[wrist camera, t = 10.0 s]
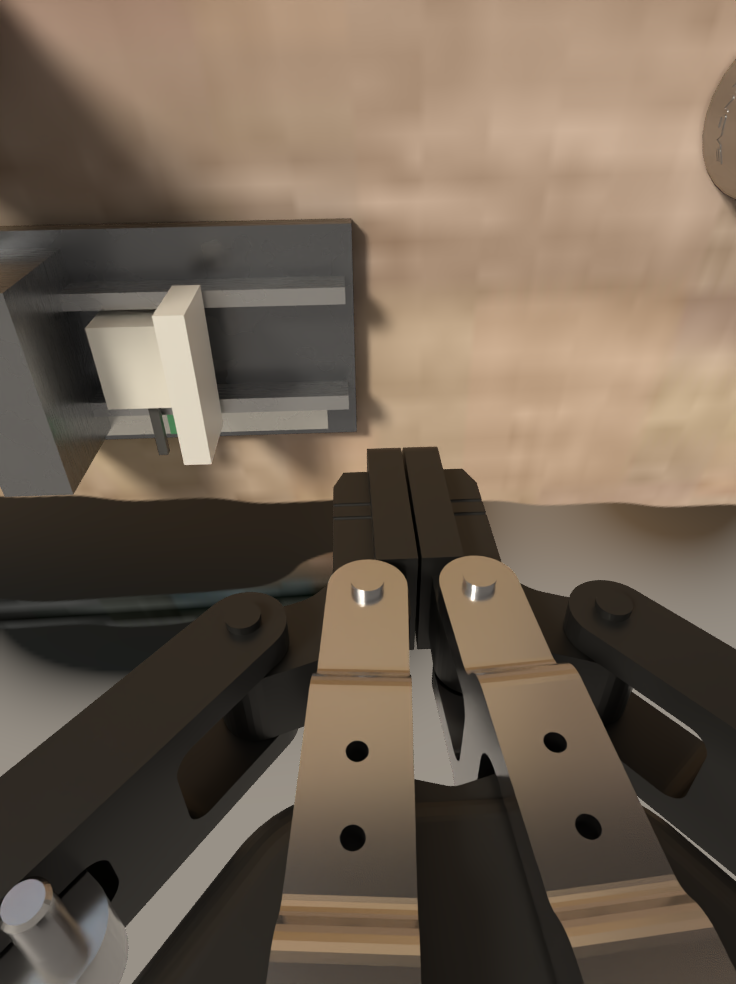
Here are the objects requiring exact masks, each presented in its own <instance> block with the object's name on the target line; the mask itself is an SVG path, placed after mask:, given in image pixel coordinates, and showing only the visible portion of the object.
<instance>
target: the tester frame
mask: <svg viewBox="0 0 736 984" xmlns="http://www.w3.org/2000/svg"><path fill="white" fill-rule="evenodd" d="M177 285H200V287H201V293H202V299H203V305H204V311H205V317H206V323H207V329H208V335H209V341H210V347H211V353H212V359H213V365H214V371H215V377H216V383H217V389H218V395H219V401H220V407H221V413H222V419H223V426H222V430H221V433H220V436H233V435H266V434H298V433H330V432H357V425H356V386H355V346H354V307H353V267H352V228H351V219H307V220H261V221H215V222H170V223H124V224H78V225H33V226H0V487H1V489H2V491H3V494H4V496H5V497H12V496H42V495H72V494H74V492H75V491H76V489H77V487H78V485H79V484H80V482H81V480H82V478H83V477H84V475H85V473H86V471H87V470H88V468H89V466H90V464H91V463H92V461H93V459H94V457H95V456H96V454H97V452H98V450H99V449H100V447H101V445H102V443H103V442H104V440H105V439H136V438H155V436H154V432H153V427H152V423H151V419H150V415H149V411H148V408H145V409H111V410H108V408H107V404H106V401H105V397H104V394H103V390H102V387H101V383H100V380H99V376H98V372H97V369H96V365H95V362H94V358H93V355H92V351H91V348H90V344H89V341H88V337H87V334H86V330H85V328H86V326H87V325H88V324H89V323H90V322H91V321H92V319H93V318H94V317H95V316H96V315H97V313H98V312H99V311H100V310H140V309H157V307H158V306H159V304H160V303H161V301H162V300H163V298H164V297H165V295H166V294H167V292H168V291H169V289H170V288H171V286H177ZM160 409H161V414H162V418H163V422H164V427H165V431H166V436H167V438H168V437H178V434H177V430H176V425H175V420H174V416H173V411H172V408H160Z"/></svg>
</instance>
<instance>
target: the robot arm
mask: <svg viewBox="0 0 736 984" xmlns="http://www.w3.org/2000/svg"><path fill="white" fill-rule="evenodd" d="M702 139H703V157H704V161H705V165H706V169H707V171H708V173H709V175H710V177H711V179H712V180H713V182H714V184H715V185H716V186H717V187H718V188H719V189H720V190H721V191H722V192H723V193H724V194H726V195H728V196H730V197H732V198H734V199H736V60H735V61H734V62H733V64H732V65H731V66H730V68H729V69H728V70H727V72H726V73H725V74H724V76H723V78H722V80H721V81H720V83H719V85H718V87H717V89H716V91H715V93H714V95H713V97H712V100H711V103H710V105H709V108H708V111H707V114H706V118H705V124H704V130H703V135H702ZM333 504H334V507H333V510H334V511H333V573H332V576H331V577H330V579H329V582H328V584H327V585H326V586H325V587H324V588H323V589H322V590H321V591H320V592H319V593H317V594H316V595H314V596H312V597H310V598H308V599H306V600H303V601H301V602H297V603H294V604H291V605H287V606H284V607H283V606H282V604H281V603H280V602H279V601H278V600H276V599H275V598H273V597H271V596H269V595H266V594H263V593H257V592H244V593H238V594H234V595H231V596H228V597H226V598H224V599H222V600H220V601H219V602H217V603H216V604H214V605H213V606H212V607H211V608H209V609H208V610H207V611H206V612H205V613H203V614H202V615H201V616H200V617H198V618H197V619H196V620H195V621H193V622H192V623H191V624H190V625H189V626H187V627H186V628H185V629H184V630H182V631H181V632H180V633H178V634H177V635H176V636H175V637H173V638H172V639H171V640H170V641H169V642H167V643H166V644H165V645H164V646H162V647H161V648H160V649H159V650H157V651H156V652H155V653H154V654H153V655H151V656H150V657H149V658H148V659H146V660H145V661H144V662H142V663H141V664H140V665H139V666H137V667H136V668H135V669H134V670H133V671H131V672H130V673H129V674H128V675H126V676H125V677H124V678H123V679H121V680H120V681H119V682H118V683H116V684H115V685H114V686H113V687H112V688H110V689H109V690H108V691H107V692H105V693H104V694H103V695H101V696H100V697H99V698H98V699H97V700H95V701H94V702H93V703H92V704H90V705H89V706H88V707H87V708H85V709H84V710H83V711H82V712H80V713H79V714H78V715H77V716H75V717H74V718H73V719H72V720H70V721H69V722H68V723H67V724H65V725H64V726H63V727H62V728H61V729H59V730H58V731H57V732H56V733H54V734H53V735H52V736H51V737H49V738H48V739H47V740H46V741H44V742H43V743H42V744H41V745H39V746H38V747H37V748H36V749H34V750H33V751H32V752H31V753H29V754H28V755H27V756H26V757H25V758H23V759H22V760H21V761H20V762H19V763H17V764H16V765H15V766H13V767H12V768H11V769H10V770H8V771H7V772H6V773H5V774H4V775H2V776H1V777H0V984H119V983H120V981H121V978H122V975H123V973H124V970H125V967H126V962H127V958H128V937H127V933H126V929H125V927H126V925H128V923H129V922H130V921H131V920H132V919H133V918H134V917H135V916H136V915H137V913H138V912H139V911H140V910H141V909H142V908H143V907H144V906H145V905H146V903H147V902H148V901H149V900H150V899H151V898H152V897H153V896H154V894H155V893H156V892H157V891H158V890H159V889H160V888H161V886H163V884H164V883H165V882H166V881H167V880H168V879H169V878H170V877H171V875H172V874H173V873H174V872H175V871H176V870H177V869H178V868H179V867H180V865H181V864H182V863H183V862H184V861H185V860H186V859H187V858H188V856H189V855H190V854H191V853H192V852H193V851H194V850H195V849H196V848H197V847H198V845H199V844H200V843H201V842H202V841H203V840H204V839H205V838H206V836H207V835H208V834H209V833H210V832H211V831H212V830H213V829H214V828H215V826H216V825H217V824H218V823H219V822H220V821H221V820H222V819H223V817H224V816H225V815H226V814H227V813H228V812H229V811H230V810H231V809H232V807H233V806H234V805H235V804H236V803H237V802H238V801H239V800H240V799H241V797H242V796H243V795H244V794H245V793H246V792H247V791H248V789H249V788H250V787H251V786H252V785H253V784H254V783H255V782H256V781H257V780H258V778H259V777H260V776H261V775H262V774H263V773H264V772H265V771H266V769H267V768H268V767H269V766H270V765H271V764H272V763H273V762H274V760H275V759H276V758H277V757H278V756H279V755H280V754H281V753H282V752H283V751H284V749H285V748H286V747H287V746H288V745H289V744H290V743H291V741H292V740H293V739H294V737H295V735H296V733H297V731H298V728H300V727H304V733H303V741H302V749H301V757H300V764H299V772H298V779H297V787H296V795H295V802H294V805H292V806H290V807H288V808H286V809H285V810H283V811H281V812H280V813H278V814H276V815H275V816H273V817H272V818H270V819H269V820H268V821H267V822H265V823H264V824H263V825H262V826H260V827H259V828H258V829H257V830H256V831H255V832H254V833H253V834H252V835H251V836H250V837H249V838H248V839H247V840H246V841H245V842H244V843H243V844H242V845H241V847H240V848H239V849H238V850H237V851H236V853H235V854H234V855H233V857H232V858H231V859H230V860H229V862H228V863H227V864H226V865H225V867H224V868H223V869H222V870H221V872H220V873H219V874H218V875H217V877H216V878H215V879H214V881H213V882H212V883H211V884H210V886H209V887H208V888H207V889H206V891H205V892H204V893H203V895H202V896H201V897H200V898H199V899H198V901H197V902H196V903H195V905H194V906H193V907H192V908H191V910H190V911H189V912H188V913H187V915H186V916H185V917H184V918H183V920H182V921H181V922H180V924H179V925H178V926H177V927H176V929H175V930H174V931H173V932H172V934H171V935H170V936H169V937H168V939H167V940H166V941H165V942H164V944H163V945H162V947H161V948H160V949H159V950H158V951H157V953H156V954H155V955H154V956H153V958H152V959H151V960H150V962H149V963H148V964H147V965H146V967H145V968H144V969H143V970H142V972H141V973H140V974H139V975H138V977H137V978H136V979H135V980H134V982H133V983H132V984H736V881H735V880H734V879H732V878H731V877H730V876H729V875H728V874H727V873H725V872H724V871H723V870H722V869H721V868H719V867H718V866H717V865H716V864H715V863H714V862H712V861H711V860H710V859H709V858H708V857H707V856H705V855H704V854H703V853H702V852H701V851H699V849H697V848H696V847H695V846H694V845H693V844H691V843H690V842H689V841H688V840H687V839H686V838H685V837H683V836H682V835H681V834H680V833H679V832H677V831H676V830H675V829H674V828H673V827H672V826H670V825H669V824H668V823H667V822H665V821H664V820H663V819H661V818H660V817H659V816H657V815H656V814H654V813H653V812H651V811H650V810H648V809H647V808H645V807H643V806H642V805H641V803H640V801H639V799H638V797H639V798H640V799H642V800H643V801H644V802H645V803H646V804H648V805H649V806H650V807H651V808H653V809H654V810H655V811H656V812H658V813H659V814H660V815H662V816H663V817H664V818H665V819H666V820H668V821H669V822H670V823H671V824H673V825H674V826H675V827H676V828H678V829H679V830H680V831H681V832H682V833H684V834H685V835H686V836H687V837H688V838H690V839H691V840H692V841H693V842H695V843H696V844H697V845H699V846H700V847H701V848H702V849H703V850H705V851H706V852H707V853H708V854H709V855H711V856H712V857H713V858H714V859H716V860H717V861H718V862H719V863H721V864H722V865H723V866H724V867H726V868H727V869H728V870H729V871H731V872H732V873H733V874H734V875H735V876H736V649H734V648H732V647H731V646H729V645H728V644H726V643H724V642H722V641H721V640H719V639H717V638H715V637H714V636H712V635H711V634H709V633H707V632H706V631H704V630H702V629H700V628H699V627H697V626H695V625H694V624H692V623H690V622H688V621H687V620H685V619H683V618H682V617H680V616H678V615H677V614H675V613H673V612H672V611H670V610H668V609H666V608H665V607H663V606H661V605H660V604H658V603H656V602H655V601H653V600H651V599H649V598H648V597H646V596H644V595H643V594H641V593H639V592H638V591H636V590H634V589H632V588H630V587H628V586H626V585H623V584H621V583H617V582H612V581H605V580H595V581H589V582H585V583H583V584H581V585H579V586H577V587H576V588H575V589H574V590H573V591H572V593H571V594H570V597H564V596H559V595H555V594H550V593H545V592H541V591H537V590H534V589H531V588H528V587H527V586H525V585H523V584H521V583H520V582H519V580H518V578H517V576H516V574H515V573H514V572H513V571H512V570H511V569H510V568H509V567H508V566H506V565H505V564H503V563H502V562H501V559H500V556H499V553H498V550H497V546H496V543H495V540H494V537H493V534H492V531H491V527H490V524H489V521H488V518H487V515H486V514H485V512H486V511H485V509H484V505H483V502H482V501H481V495H480V492H479V489H478V486H477V483H476V482H475V481H474V480H473V479H472V478H471V477H470V476H469V475H468V474H467V473H466V472H465V471H464V470H463V469H443V468H442V463H441V459H440V455H439V451H438V448H437V447H408V448H403V450H402V452H401V448H381V449H367V472H353V473H343V474H342V476H341V477H340V479H339V480H338V482H337V483H336V485H335V486H334V492H333ZM415 635H416V642H417V649H431V654H432V660H433V670H432V688H433V692H434V696H435V700H436V704H437V708H438V713H439V717H440V721H441V725H442V729H443V733H444V737H445V742H446V746H447V750H448V755H449V759H450V762H451V767H452V772H453V778H454V785H455V786H445V785H440V784H435V783H430V782H425V781H420V780H416V779H414V750H413V714H412V681H411V675H410V669H409V667H410V666H409V650H413V649H414V638H415ZM633 688H634V689H635V690H637V691H638V692H640V693H641V694H643V695H644V696H646V697H647V698H649V699H650V700H651V701H653V702H654V703H656V704H657V705H658V706H660V707H661V708H663V709H664V710H666V711H667V712H668V713H670V714H671V715H673V716H674V717H676V718H677V719H679V720H680V721H681V722H683V723H684V724H686V725H687V726H689V727H690V728H691V729H693V730H694V731H695V732H696V733H697V734H698V735H699V737H700V738H701V739H702V741H701V740H700V739H698V738H697V737H695V736H694V735H693V734H691V733H690V732H689V731H687V730H685V729H684V728H683V727H681V726H680V725H679V724H677V723H676V722H674V721H673V720H671V719H670V718H669V717H667V716H665V715H664V714H663V713H661V712H660V711H658V710H657V709H656V708H654V707H653V706H651V705H650V704H648V703H647V702H646V701H644V700H643V699H641V698H640V697H639V696H637V695H636V694H634V693H633V692H632V689H633ZM637 796H638V797H637Z"/></svg>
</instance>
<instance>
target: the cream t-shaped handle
mask: <svg viewBox="0 0 736 984" xmlns="http://www.w3.org/2000/svg"><path fill="white" fill-rule="evenodd" d="M85 330H86V334H87V337H88V341H89V344H90V348H91V351H92V355H93V358H94V362H95V365H96V369H97V372H98V376H99V380H100V383H101V387H102V390H103V394H104V397H105V401H106V404H107V408H108V410H111V409H145V408H148V411H149V415H150V419H151V423H152V427H153V432H154V436H155V440H156V444H157V448H158V452H159V455H168V454H169V452H170V449H169V444H168V440H167V436H166V431H165V427H164V422H163V418H162V414H161V409H160V408H172V411H173V416H174V420H175V425H176V430H177V434H178V439H179V443H180V448H181V453H182V457H183V462H184V465H201V464H212V461H213V457H214V454H215V451H216V447H217V444H218V440H219V437H220V433H221V430H222V426H223V419H222V413H221V407H220V401H219V395H218V389H217V383H216V377H215V371H214V365H213V359H212V353H211V347H210V341H209V335H208V329H207V323H206V317H205V311H204V305H203V299H202V293H201V287H200V285H177V286H171V288H170V289H169V291H168V292H167V294H166V295H165V297H164V298H163V300H162V301H161V303H160V304H159V306H158V307H157V309H140V310H100V311H99V312H98V313H97V315H96V316H95V317H94V318H93V319H92V321H91V322H90V323H89V324H88V325H87V326H86V328H85Z"/></svg>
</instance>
